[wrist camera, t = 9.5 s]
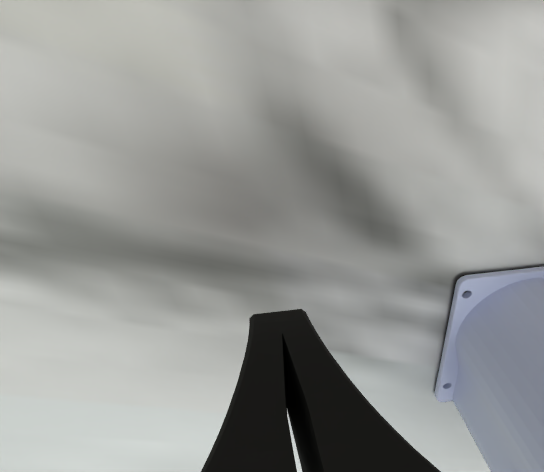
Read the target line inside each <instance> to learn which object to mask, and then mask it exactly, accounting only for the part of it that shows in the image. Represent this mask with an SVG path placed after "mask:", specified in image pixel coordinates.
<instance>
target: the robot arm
mask: <svg viewBox="0 0 544 472" xmlns="http://www.w3.org/2000/svg"><path fill="white" fill-rule="evenodd" d="M465 291H467V292H466V293H464V292H465ZM435 397H436V399H437V400H438V401H440V402H447V401H453V402H454V404H455V405H456V407H457V409H458V411H459V413H460V415H461V417H462V418H463V420H464V422H465V424H466V426H467V428H468V430H469V431H470V433H471V435H472V437H473V439H474V441H475V443H476V444H477V446H478V448H479V450H480V452H481V454H482V456H483V457H484V459H485V461H486V463H487V465H488V467H489V469H490V470H491V472H544V266H543V267H534V268H525V269H516V270H507V271H498V272H490V273H481V274H472V275H465V276H462V277H461V278H459V279H458V281H457V283H456V286H455V291H454V297H453V302H452V307H451V312H450V317H449V322H448V327H447V332H446V337H445V343H444V348H443V353H442V358H441V363H440V368H439V373H438V378H437V383H436V388H435ZM287 410H288V414H289V418H290V422H291V426H292V430H293V435H294V439H295V443H296V447H297V451H298V455H299V459H300V463H301V467H302V471H303V472H441V471H439V470H438V469H437V468H436V467H435V466H434V465H432V464H431V463H430V462H429V461H428V460H427V459H426V458H424V457H423V456H422V455H421V454H420V453H419V452H418V451H416V450H415V449H414V448H413V447H412V446H411V445H410V444H409V443H408V442H407V441H406V440H405V439H404V438H403V437H402V436H401V435H400V434H399V433H398V432H397V431H396V430H395V429H394V428H393V427H392V426H391V425H390V424H389V423H388V422H387V421H386V420H385V419H384V418H383V417H382V416H381V415H380V414H379V413H378V412H377V411H376V409H375V408H374V407H373V406H372V405H371V404H370V403H369V402H368V401H367V399H366V398H365V397H364V396H363V395H362V393H361V392H360V391H359V390H358V389H357V388H356V386H355V385H354V384H353V383H352V381H351V380H350V379H349V378H348V376H347V375H346V374H345V373H344V371H343V370H342V368H341V367H340V366H339V364H338V363H337V362H336V360H335V359H334V358H333V356H332V355H331V353H330V352H329V351H328V349H327V348H326V346H325V345H324V343H323V342H322V340H321V339H320V337H319V335H318V334H317V332H316V331H315V329H314V327H313V325H312V324H311V322H310V320H309V318H308V316H307V314H306V312H305V311H303V310H302V309H297V310H289V311H280V312H271V313H262V314H254V315H253V316H252V317H251V318H250V327H249V336H248V343H247V348H246V352H245V357H244V361H243V364H242V368H241V372H240V375H239V379H238V382H237V386H236V389H235V391H234V394H233V397H232V400H231V403H230V406H229V409H228V412H227V414H226V417H225V419H224V422H223V424H222V427H221V429H220V432H219V434H218V436H217V439H216V441H215V443H214V445H213V448H212V450H211V452H210V454H209V456H208V458H207V461H206V463H205V465H204V467H203V469H202V471H201V472H297V470H296V464H295V459H294V453H293V447H292V442H291V436H290V430H289V424H288V418H287Z"/></svg>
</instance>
